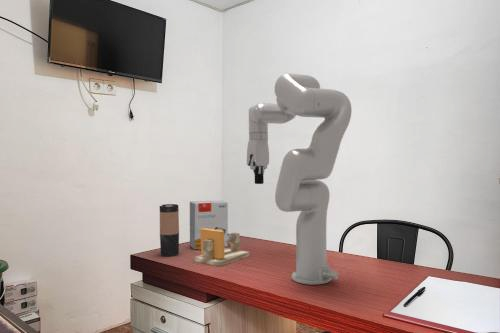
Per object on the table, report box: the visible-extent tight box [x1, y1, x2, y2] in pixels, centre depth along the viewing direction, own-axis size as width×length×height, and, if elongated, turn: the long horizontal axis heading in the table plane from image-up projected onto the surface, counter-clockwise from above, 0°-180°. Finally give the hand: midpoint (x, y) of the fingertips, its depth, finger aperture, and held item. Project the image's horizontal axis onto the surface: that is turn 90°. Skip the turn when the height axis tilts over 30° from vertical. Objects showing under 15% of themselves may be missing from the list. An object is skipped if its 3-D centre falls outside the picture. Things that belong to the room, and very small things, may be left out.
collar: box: [200, 228, 225, 259], centre depth 145 cm, size 10×2×10 cm, turn 53°
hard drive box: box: [189, 199, 229, 250], centre depth 170 cm, size 16×8×20 cm, turn 113°
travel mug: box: [159, 203, 180, 257], centre depth 157 cm, size 8×8×20 cm
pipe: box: [213, 234, 236, 246], centre depth 150 cm, size 3×17×3 cm, turn 144°
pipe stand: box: [193, 232, 251, 267], centre depth 150 cm, size 13×18×8 cm
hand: (259, 183), depth 154 cm, fingers closed
